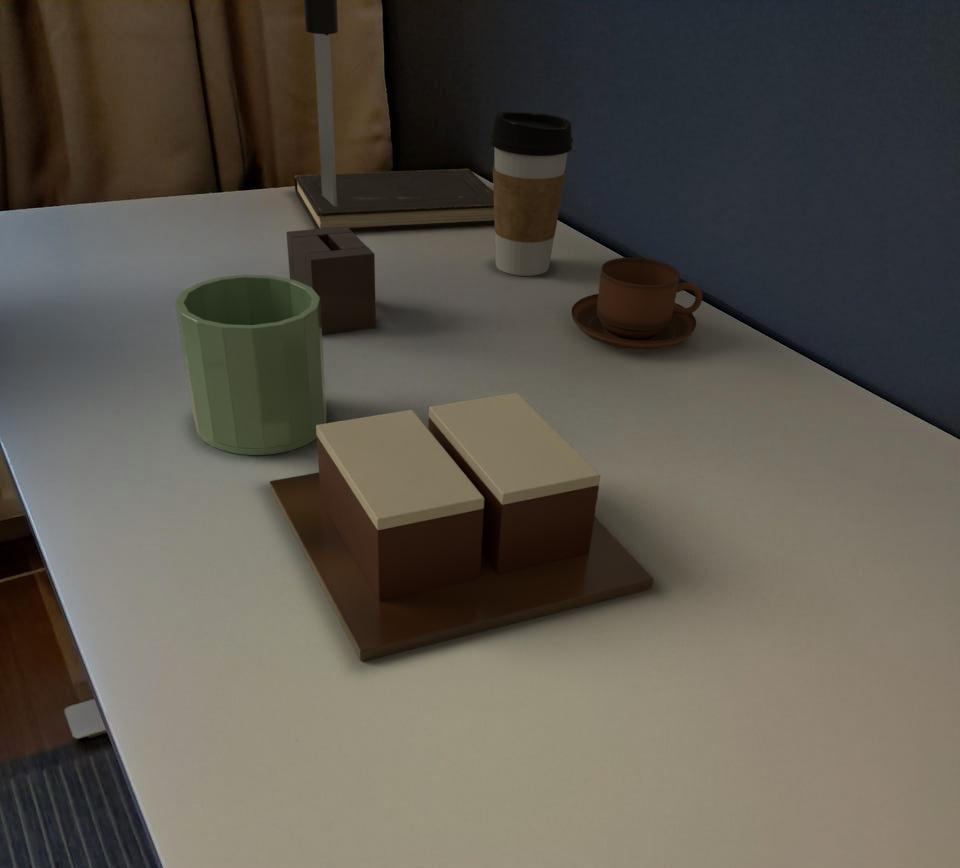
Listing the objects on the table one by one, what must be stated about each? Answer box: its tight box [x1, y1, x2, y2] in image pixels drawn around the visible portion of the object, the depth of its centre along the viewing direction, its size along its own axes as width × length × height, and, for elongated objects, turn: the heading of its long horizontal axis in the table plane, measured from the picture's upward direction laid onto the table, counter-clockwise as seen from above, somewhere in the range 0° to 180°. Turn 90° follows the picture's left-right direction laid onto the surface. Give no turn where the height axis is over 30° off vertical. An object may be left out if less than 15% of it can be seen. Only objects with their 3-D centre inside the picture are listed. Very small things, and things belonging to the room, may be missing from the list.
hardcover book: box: [293, 168, 495, 233], centre depth 121 cm, size 16×23×2 cm
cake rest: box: [316, 409, 484, 601], centre depth 63 cm, size 12×7×6 cm, turn 24°
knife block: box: [286, 226, 377, 336], centre depth 93 cm, size 8×6×7 cm
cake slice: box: [427, 392, 601, 574], centre depth 66 cm, size 12×7×6 cm, turn 24°
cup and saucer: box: [571, 257, 703, 350], centre depth 93 cm, size 12×12×6 cm
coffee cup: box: [490, 111, 574, 277], centre depth 103 cm, size 8×8×15 cm
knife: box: [303, 0, 339, 207], centre depth 80 cm, size 4×3×22 cm
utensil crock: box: [175, 274, 328, 456], centre depth 74 cm, size 10×10×10 cm
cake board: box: [269, 471, 655, 662], centre depth 67 cm, size 20×20×1 cm
